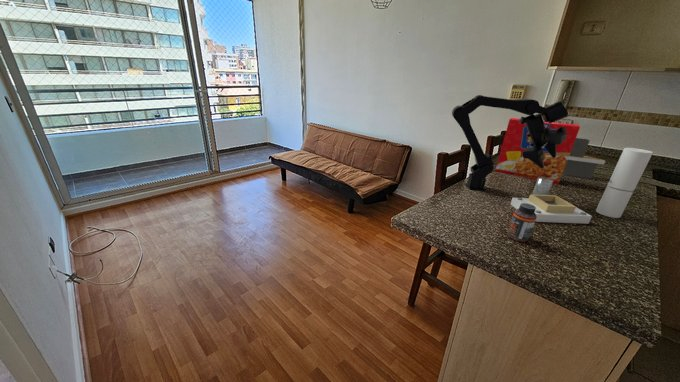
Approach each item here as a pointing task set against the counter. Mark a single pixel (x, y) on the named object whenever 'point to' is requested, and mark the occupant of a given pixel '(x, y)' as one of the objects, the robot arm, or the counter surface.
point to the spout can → (542, 186)
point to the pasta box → (519, 142)
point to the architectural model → (581, 161)
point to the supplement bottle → (522, 222)
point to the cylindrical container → (623, 181)
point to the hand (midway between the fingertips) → (548, 162)
